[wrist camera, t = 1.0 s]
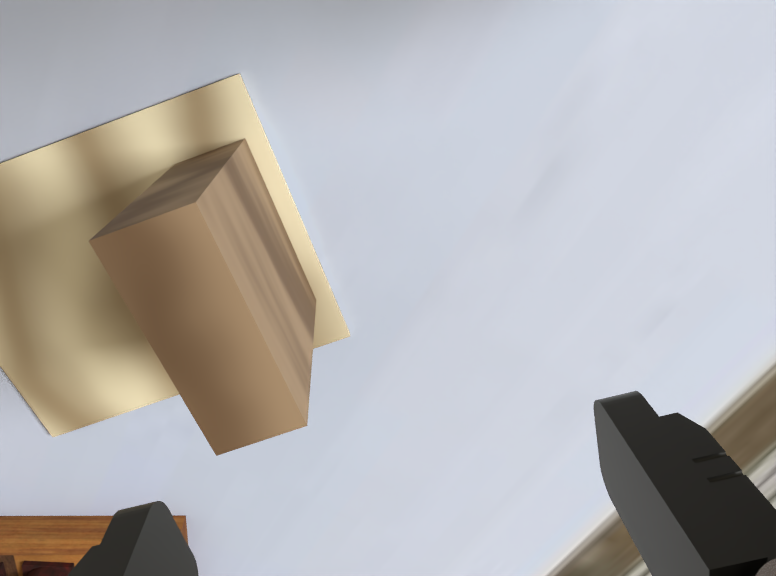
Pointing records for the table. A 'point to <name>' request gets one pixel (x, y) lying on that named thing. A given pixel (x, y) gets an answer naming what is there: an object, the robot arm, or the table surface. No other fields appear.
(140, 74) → the table surface
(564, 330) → the table surface
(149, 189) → the slab
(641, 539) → the robot arm
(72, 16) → the table surface
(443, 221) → the table surface
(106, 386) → the board
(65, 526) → the gameboard
